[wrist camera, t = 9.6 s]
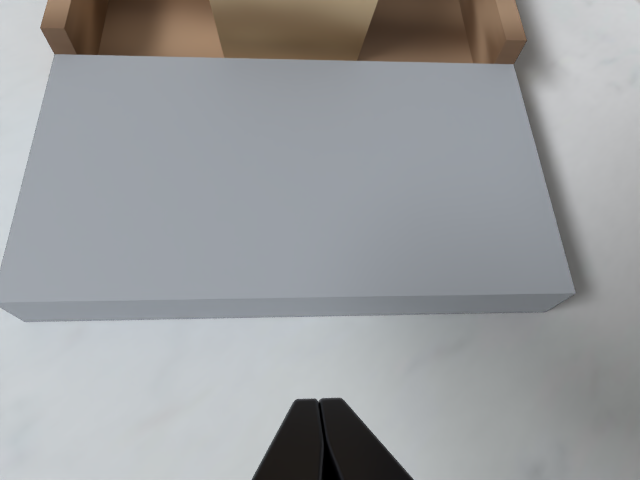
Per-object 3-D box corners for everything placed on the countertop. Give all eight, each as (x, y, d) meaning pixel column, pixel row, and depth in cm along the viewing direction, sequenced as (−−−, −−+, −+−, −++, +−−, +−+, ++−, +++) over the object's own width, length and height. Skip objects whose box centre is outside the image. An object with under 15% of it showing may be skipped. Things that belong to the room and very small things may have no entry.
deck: (545, 311, 22) (575, 293, 20) (24, 321, 20) (-9, 302, 18) (493, 98, 27) (513, 64, 25) (74, 91, 25) (54, 54, 23)
